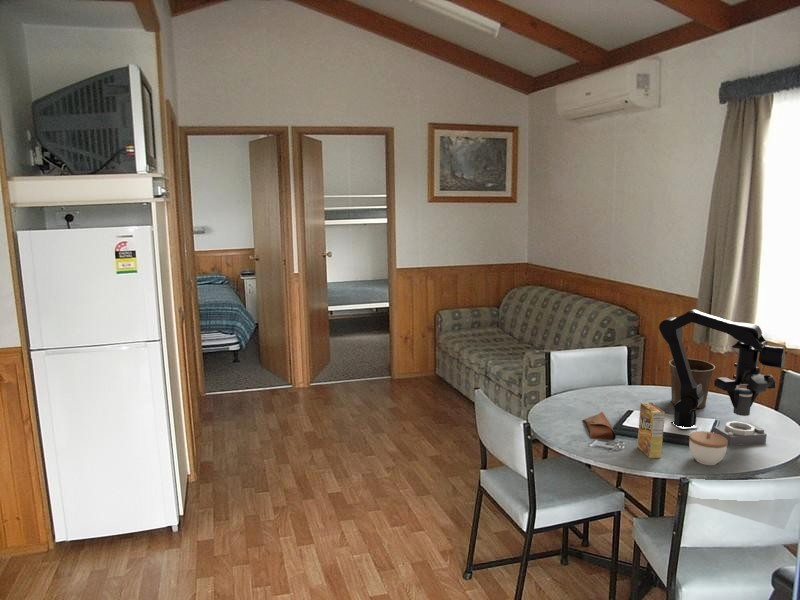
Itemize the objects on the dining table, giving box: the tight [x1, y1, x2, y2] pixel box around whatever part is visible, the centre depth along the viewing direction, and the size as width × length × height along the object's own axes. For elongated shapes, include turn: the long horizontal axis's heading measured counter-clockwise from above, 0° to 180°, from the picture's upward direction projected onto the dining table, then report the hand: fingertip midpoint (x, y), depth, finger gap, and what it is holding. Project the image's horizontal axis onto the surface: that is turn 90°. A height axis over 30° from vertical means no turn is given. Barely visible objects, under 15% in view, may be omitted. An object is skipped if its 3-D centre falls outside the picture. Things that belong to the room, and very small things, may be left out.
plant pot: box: [668, 358, 716, 410], centre depth 247 cm, size 16×16×16 cm
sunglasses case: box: [582, 411, 617, 441], centre depth 224 cm, size 18×7×7 cm
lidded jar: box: [688, 430, 729, 466], centre depth 198 cm, size 11×11×9 cm
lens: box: [733, 387, 752, 417], centre depth 213 cm, size 5×5×8 cm
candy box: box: [636, 402, 666, 459], centre depth 204 cm, size 9×4×15 cm, turn 6°
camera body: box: [712, 420, 767, 447], centre depth 215 cm, size 13×9×4 cm
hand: (742, 407), depth 214 cm, fingers closed on lens, 5 cm apart
